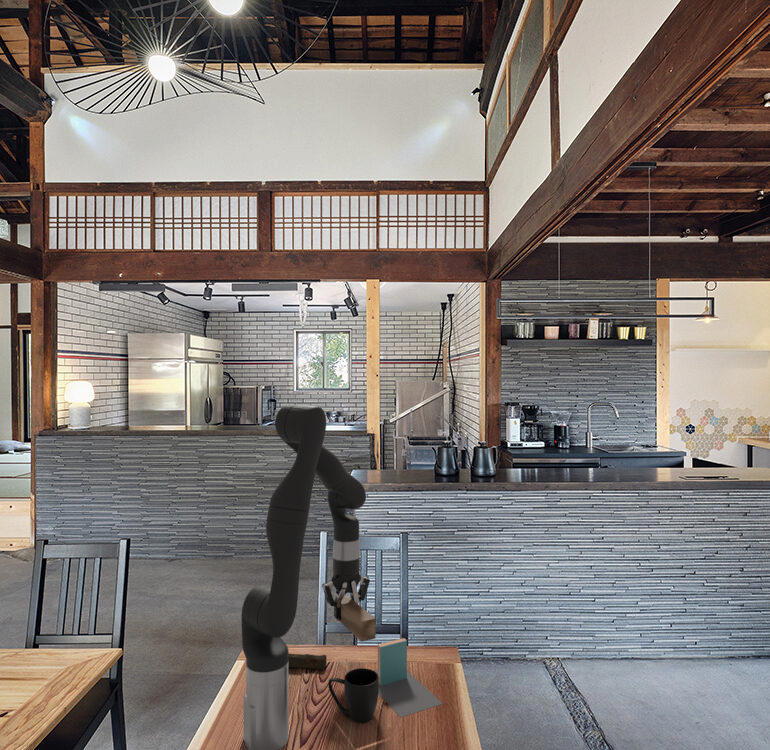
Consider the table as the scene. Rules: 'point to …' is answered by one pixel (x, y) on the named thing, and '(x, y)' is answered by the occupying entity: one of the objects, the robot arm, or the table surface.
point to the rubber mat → (407, 696)
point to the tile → (392, 661)
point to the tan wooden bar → (357, 619)
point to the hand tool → (307, 661)
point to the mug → (358, 694)
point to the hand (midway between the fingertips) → (346, 617)
